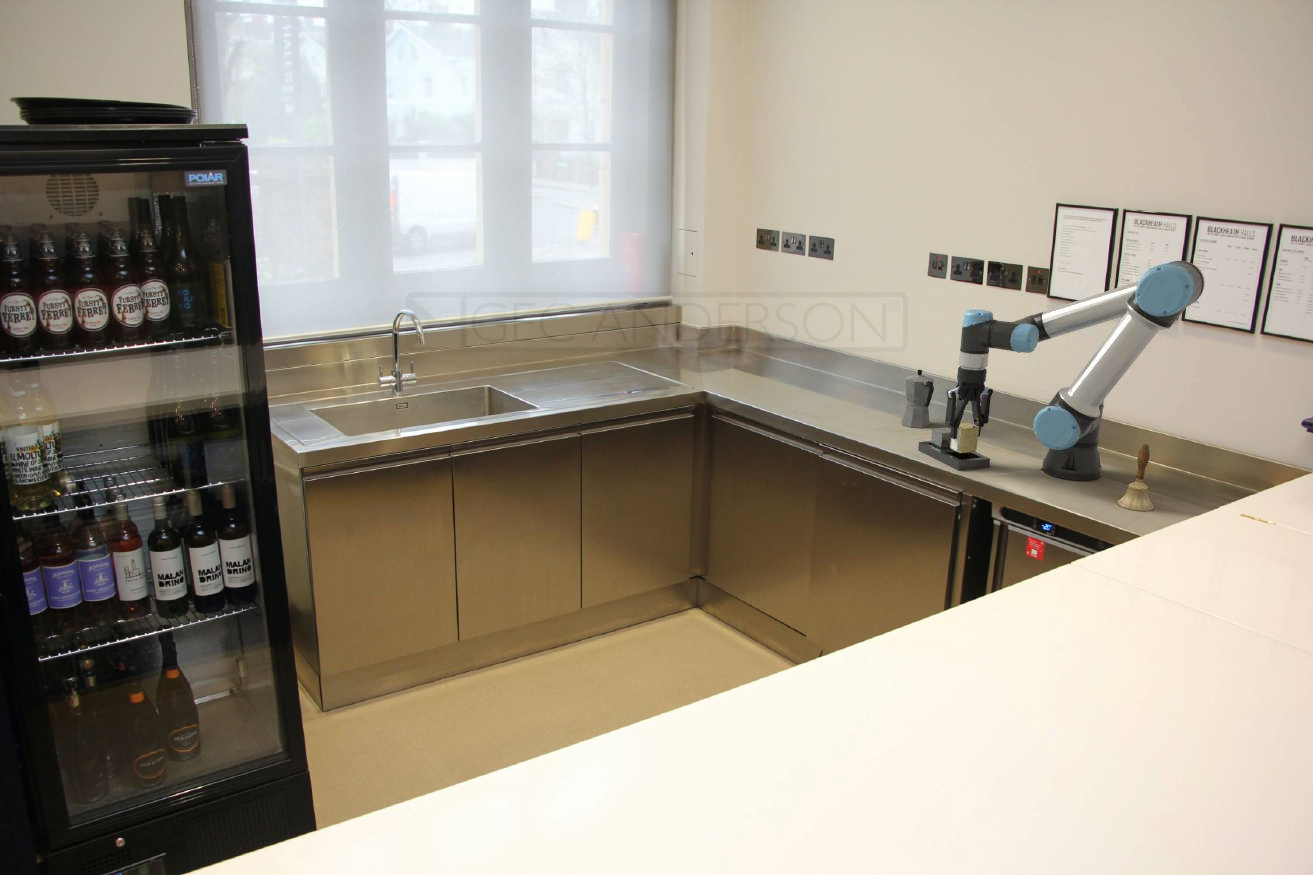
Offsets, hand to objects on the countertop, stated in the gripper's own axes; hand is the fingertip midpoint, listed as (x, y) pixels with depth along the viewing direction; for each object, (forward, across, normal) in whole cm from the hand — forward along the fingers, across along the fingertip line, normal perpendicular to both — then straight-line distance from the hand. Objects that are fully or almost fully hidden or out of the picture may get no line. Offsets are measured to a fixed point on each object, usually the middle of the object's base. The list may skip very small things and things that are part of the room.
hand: (963, 448), depth 282 cm
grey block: (+4, 0, -10) cm, 11 cm away
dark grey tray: (+5, 0, -5) cm, 7 cm away
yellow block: (0, 0, 0) cm, 1 cm away
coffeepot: (+5, -11, -41) cm, 43 cm away
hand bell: (+5, -22, +41) cm, 47 cm away
